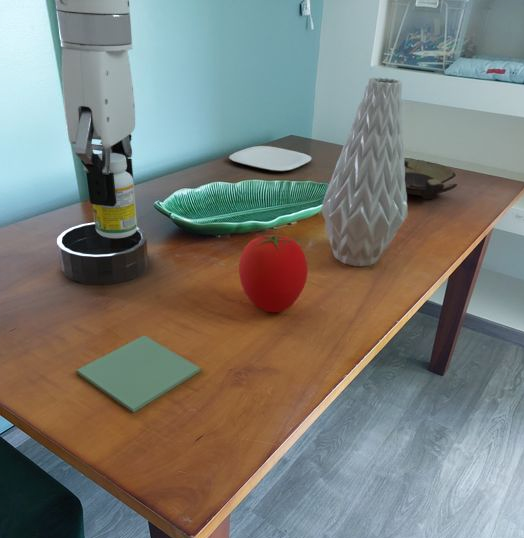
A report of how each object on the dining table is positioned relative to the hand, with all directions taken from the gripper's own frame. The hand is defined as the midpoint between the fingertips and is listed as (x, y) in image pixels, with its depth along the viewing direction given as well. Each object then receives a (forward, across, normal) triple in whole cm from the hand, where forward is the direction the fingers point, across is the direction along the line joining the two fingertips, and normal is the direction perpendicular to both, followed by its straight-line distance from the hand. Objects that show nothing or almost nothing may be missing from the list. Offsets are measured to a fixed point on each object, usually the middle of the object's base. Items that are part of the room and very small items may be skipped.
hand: (112, 195), depth 68 cm
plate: (+22, -100, +8) cm, 103 cm away
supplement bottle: (+5, 0, 0) cm, 5 cm away
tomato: (+22, -15, +20) cm, 34 cm away
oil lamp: (+22, -85, +49) cm, 101 cm away
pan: (+22, -23, -13) cm, 34 cm away
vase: (+22, -39, +34) cm, 57 cm away
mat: (+22, +7, +4) cm, 24 cm away
